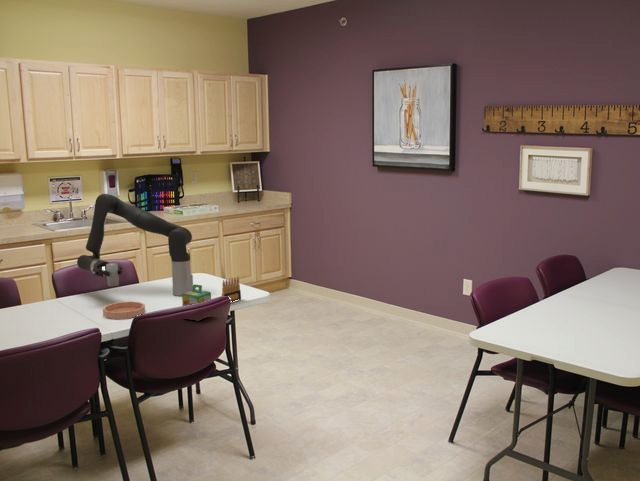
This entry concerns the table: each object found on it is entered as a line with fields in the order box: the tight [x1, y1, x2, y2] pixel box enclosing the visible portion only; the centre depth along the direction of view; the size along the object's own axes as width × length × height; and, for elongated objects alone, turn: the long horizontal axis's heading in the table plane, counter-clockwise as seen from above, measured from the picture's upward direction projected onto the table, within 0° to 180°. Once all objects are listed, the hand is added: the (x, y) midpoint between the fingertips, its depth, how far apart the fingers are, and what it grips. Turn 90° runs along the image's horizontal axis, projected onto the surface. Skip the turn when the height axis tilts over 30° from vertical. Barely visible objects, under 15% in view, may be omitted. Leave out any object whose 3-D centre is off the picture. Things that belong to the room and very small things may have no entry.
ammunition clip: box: [221, 275, 242, 303], centre depth 296 cm, size 11×2×12 cm, turn 139°
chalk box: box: [181, 283, 212, 307], centre depth 271 cm, size 9×9×15 cm
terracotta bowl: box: [102, 301, 146, 320], centre depth 280 cm, size 18×18×3 cm
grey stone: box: [106, 262, 120, 287], centre depth 291 cm, size 5×5×10 cm
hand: (114, 273), depth 289 cm, fingers closed on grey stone, 5 cm apart
